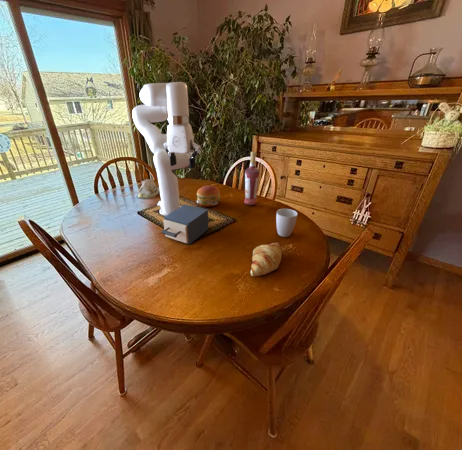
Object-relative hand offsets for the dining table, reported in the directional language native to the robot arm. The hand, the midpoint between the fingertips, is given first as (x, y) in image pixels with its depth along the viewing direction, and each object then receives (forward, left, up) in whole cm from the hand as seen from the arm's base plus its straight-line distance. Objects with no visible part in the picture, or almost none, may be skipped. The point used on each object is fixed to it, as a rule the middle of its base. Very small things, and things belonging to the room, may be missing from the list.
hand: (182, 166), depth 96 cm
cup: (+40, +15, -28) cm, 51 cm away
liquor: (+15, +38, -28) cm, 50 cm away
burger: (-6, +28, -28) cm, 40 cm away
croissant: (+40, -8, -28) cm, 50 cm away
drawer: (+3, -8, -27) cm, 29 cm away
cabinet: (+3, -4, -28) cm, 29 cm away
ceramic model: (-47, +23, -28) cm, 60 cm away
